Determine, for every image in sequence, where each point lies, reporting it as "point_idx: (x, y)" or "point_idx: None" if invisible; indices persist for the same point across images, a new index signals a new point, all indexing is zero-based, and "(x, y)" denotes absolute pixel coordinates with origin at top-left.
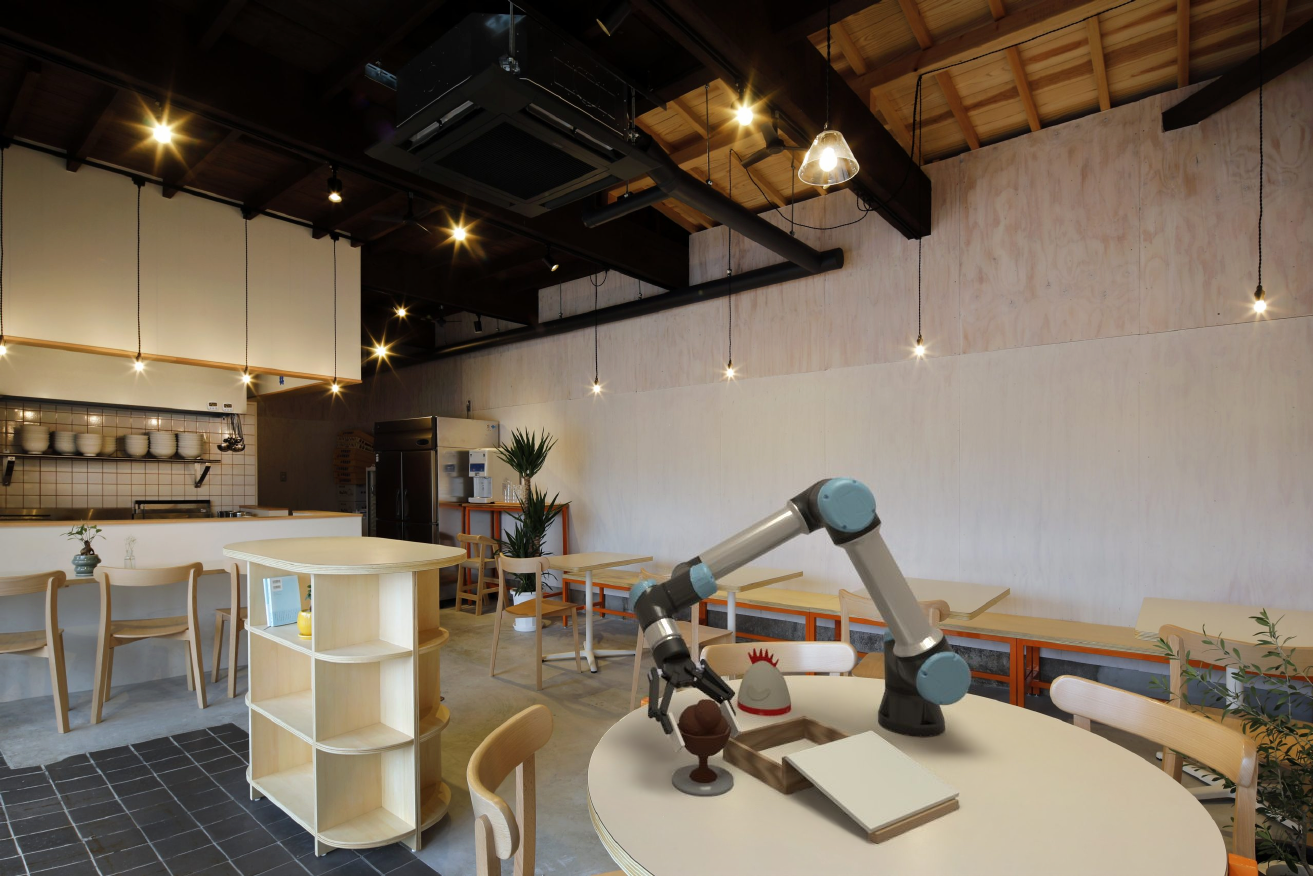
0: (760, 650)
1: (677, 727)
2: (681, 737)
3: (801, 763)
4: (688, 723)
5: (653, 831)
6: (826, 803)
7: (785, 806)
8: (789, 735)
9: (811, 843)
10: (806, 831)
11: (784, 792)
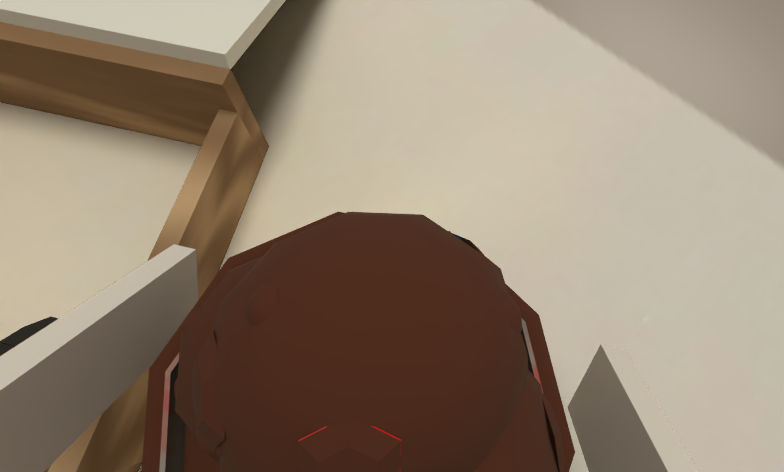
0: None
1: (658, 450)
2: (623, 383)
3: (229, 18)
4: (553, 417)
5: (718, 277)
6: (240, 59)
7: (327, 116)
8: None
9: (433, 9)
10: (398, 34)
11: (264, 147)
